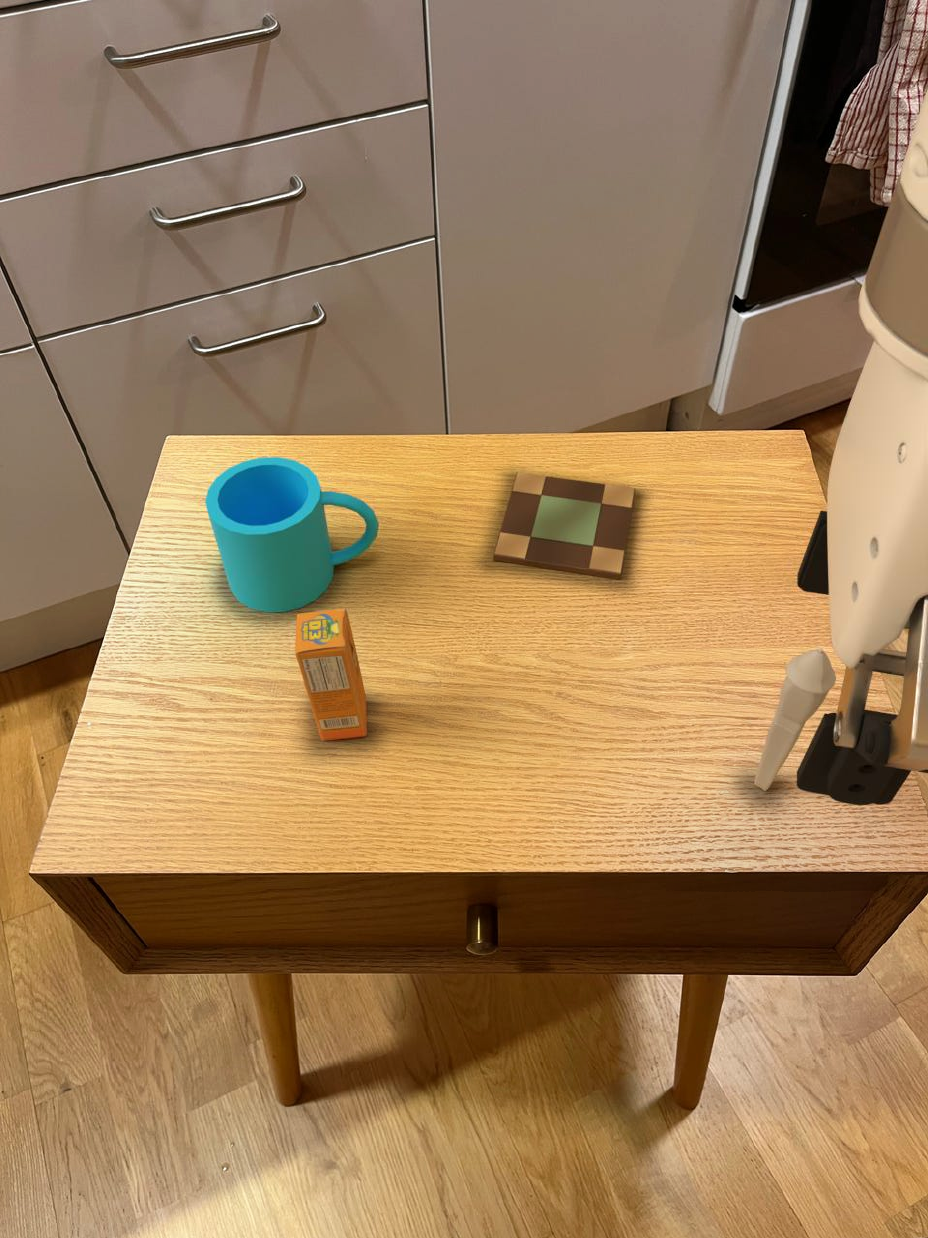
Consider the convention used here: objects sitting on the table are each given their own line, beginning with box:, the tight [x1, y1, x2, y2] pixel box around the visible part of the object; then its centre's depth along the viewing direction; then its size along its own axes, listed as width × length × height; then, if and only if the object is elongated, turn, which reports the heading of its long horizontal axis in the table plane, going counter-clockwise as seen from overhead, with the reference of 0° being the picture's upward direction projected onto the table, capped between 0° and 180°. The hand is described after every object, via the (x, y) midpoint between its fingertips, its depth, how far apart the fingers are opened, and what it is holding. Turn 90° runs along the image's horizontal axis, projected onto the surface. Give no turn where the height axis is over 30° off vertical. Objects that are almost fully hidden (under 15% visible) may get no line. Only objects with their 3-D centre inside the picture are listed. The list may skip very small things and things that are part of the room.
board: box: [492, 471, 636, 580], centre depth 77 cm, size 10×10×1 cm
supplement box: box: [294, 607, 368, 742], centre depth 62 cm, size 3×3×10 cm
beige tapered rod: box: [753, 648, 837, 792], centre depth 56 cm, size 2×3×14 cm
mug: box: [204, 456, 380, 613], centre depth 72 cm, size 12×8×8 cm
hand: (837, 682), depth 37 cm, fingers open, 9 cm apart
